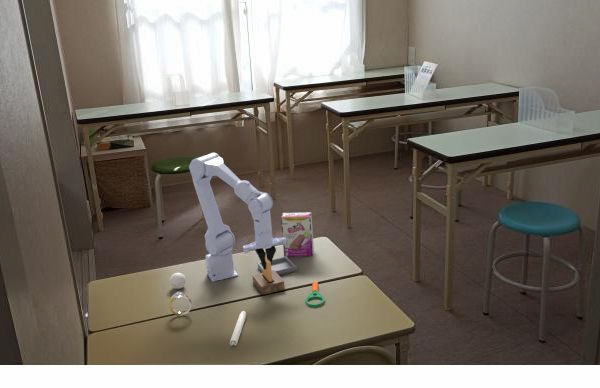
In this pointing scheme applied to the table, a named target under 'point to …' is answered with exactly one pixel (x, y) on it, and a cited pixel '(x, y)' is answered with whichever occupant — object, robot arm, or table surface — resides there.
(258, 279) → the brown slotted block
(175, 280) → the white egg
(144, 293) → the table surface
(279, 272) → the tray
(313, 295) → the magnifying glass
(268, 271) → the tan wooden plank
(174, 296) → the ring
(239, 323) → the marker
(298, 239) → the candy bar box
